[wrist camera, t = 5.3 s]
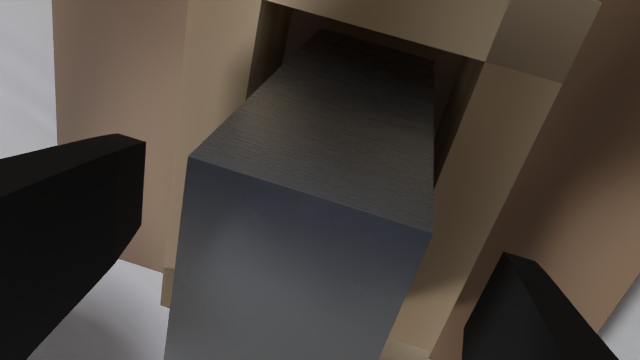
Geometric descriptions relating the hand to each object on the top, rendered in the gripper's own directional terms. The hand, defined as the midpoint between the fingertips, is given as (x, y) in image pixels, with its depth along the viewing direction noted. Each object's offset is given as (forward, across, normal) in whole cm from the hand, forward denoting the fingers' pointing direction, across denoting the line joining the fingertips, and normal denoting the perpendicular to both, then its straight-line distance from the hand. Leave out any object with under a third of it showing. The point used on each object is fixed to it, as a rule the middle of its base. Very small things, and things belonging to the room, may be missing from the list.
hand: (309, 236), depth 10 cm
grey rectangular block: (+5, 0, 0) cm, 5 cm away
